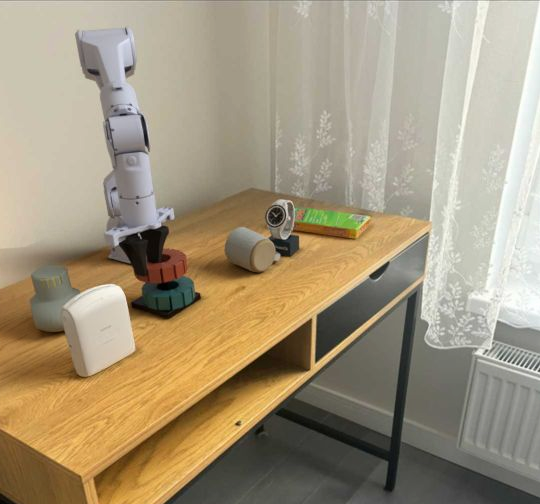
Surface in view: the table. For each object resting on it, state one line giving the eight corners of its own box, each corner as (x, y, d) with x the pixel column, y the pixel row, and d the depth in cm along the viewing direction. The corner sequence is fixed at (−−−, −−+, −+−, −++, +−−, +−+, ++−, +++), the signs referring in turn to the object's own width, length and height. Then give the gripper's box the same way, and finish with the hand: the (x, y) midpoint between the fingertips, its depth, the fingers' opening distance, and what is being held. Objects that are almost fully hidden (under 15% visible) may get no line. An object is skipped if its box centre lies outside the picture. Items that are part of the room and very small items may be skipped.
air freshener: (35, 315, 110) (21, 264, 105) (82, 306, 112) (70, 255, 107) (39, 343, 101) (24, 289, 96) (90, 332, 103) (78, 279, 98)
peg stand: (131, 307, 111) (124, 271, 107) (164, 288, 117) (159, 253, 113) (168, 319, 107) (163, 281, 103) (201, 298, 113) (197, 262, 109)
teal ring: (133, 303, 110) (131, 290, 108) (166, 283, 116) (165, 271, 115) (172, 314, 105) (170, 301, 104) (205, 293, 112) (203, 280, 111)
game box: (355, 242, 135) (273, 227, 143) (369, 228, 143) (290, 214, 150) (356, 229, 134) (273, 214, 141) (371, 216, 141) (291, 202, 149)
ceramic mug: (252, 279, 119) (250, 241, 115) (225, 268, 124) (222, 231, 120) (290, 263, 125) (289, 227, 122) (262, 253, 131) (261, 218, 127)
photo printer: (86, 381, 91) (69, 307, 84) (70, 371, 93) (51, 299, 87) (140, 352, 97) (128, 281, 91) (123, 343, 100) (110, 274, 93)
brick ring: (124, 276, 107) (121, 262, 106) (159, 258, 114) (157, 245, 113) (163, 287, 103) (161, 273, 102) (197, 267, 109) (196, 254, 108)
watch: (263, 256, 129) (260, 205, 123) (280, 242, 135) (278, 194, 129) (286, 260, 127) (285, 208, 121) (303, 246, 133) (302, 196, 127)
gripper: (121, 210, 91) (135, 292, 98) (183, 184, 102) (192, 260, 109) (89, 204, 95) (104, 283, 102) (152, 179, 105) (162, 253, 112)
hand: (148, 271), depth 106 cm, fingers closed on brick ring, 3 cm apart
